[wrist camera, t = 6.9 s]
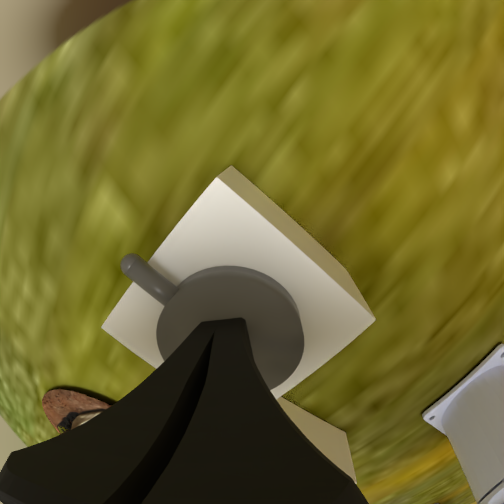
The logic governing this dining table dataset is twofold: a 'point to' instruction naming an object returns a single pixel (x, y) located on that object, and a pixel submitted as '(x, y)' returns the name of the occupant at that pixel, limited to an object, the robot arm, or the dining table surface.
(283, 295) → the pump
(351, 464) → the off-white square plinth
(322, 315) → the square base with knob
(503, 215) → the dining table surface
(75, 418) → the skull
